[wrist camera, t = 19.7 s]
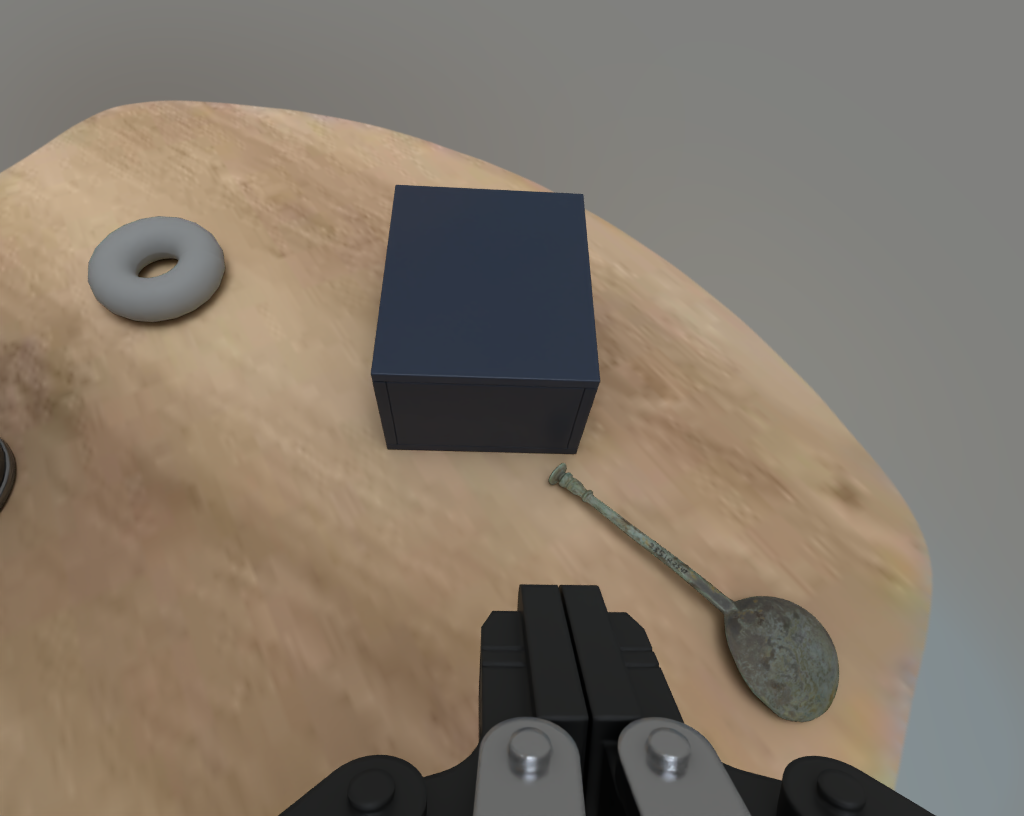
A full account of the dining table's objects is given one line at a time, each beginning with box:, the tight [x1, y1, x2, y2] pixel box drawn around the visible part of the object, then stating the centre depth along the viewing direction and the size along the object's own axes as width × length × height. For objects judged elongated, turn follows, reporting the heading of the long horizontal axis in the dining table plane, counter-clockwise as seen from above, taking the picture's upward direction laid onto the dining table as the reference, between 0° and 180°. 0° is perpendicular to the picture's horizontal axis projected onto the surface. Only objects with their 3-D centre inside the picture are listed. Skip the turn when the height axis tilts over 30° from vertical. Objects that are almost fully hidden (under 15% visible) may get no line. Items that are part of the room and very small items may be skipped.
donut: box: [88, 216, 225, 322], centre depth 51 cm, size 10×4×10 cm
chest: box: [372, 381, 598, 454], centre depth 46 cm, size 16×14×9 cm
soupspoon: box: [549, 463, 839, 722], centre depth 41 cm, size 22×3×7 cm
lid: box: [371, 185, 600, 388], centre depth 42 cm, size 16×14×1 cm
